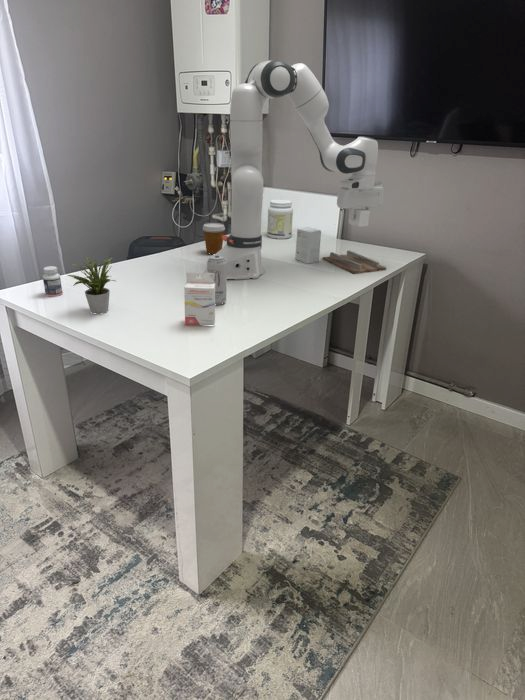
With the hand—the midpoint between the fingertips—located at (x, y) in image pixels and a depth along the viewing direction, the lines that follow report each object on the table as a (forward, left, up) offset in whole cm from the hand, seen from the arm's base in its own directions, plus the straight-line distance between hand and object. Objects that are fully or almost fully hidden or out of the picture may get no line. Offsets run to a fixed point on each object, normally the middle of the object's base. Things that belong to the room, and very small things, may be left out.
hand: (358, 218), depth 199 cm
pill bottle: (-115, +7, -19) cm, 117 cm away
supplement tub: (-5, +54, -19) cm, 57 cm away
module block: (0, 0, -2) cm, 2 cm away
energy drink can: (-69, -20, -19) cm, 74 cm away
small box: (-15, +12, -19) cm, 27 cm away
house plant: (-104, -12, -19) cm, 106 cm away
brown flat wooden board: (0, 0, -19) cm, 19 cm away
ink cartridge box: (-80, -34, -19) cm, 89 cm away
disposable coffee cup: (-47, +36, -19) cm, 62 cm away
